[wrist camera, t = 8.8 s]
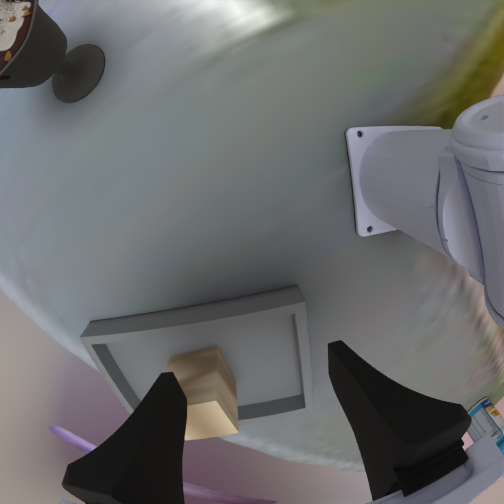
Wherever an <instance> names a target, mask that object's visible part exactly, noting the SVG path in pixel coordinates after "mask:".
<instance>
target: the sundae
mask: <svg viewBox="0 0 504 504" xmlns="http://www.w3.org/2000/svg"><path fill="white" fill-rule="evenodd" d="M38 1H39V0H0V88H26V87H34V86H37V85H40V84H42V83H43V82H45V81H46V80H48V79H49V78H50V77H51V76H52V75H53V74H54V76H53V82H52V84H53V92H54V94H55V96H56V97H57V98H58V99H59V100H61V101H63V102H66V103H67V102H75V101H77V100H79V99H81V98H83V97H85V96H86V95H87V94H88V93H89V92H90V91H92V89H93V88H94V87H95V86H96V85H97V83H98V81H99V80H100V78H101V76H102V73H103V70H104V65H105V58H104V54H103V52H102V50H101V49H100V48H99V47H98V46H96V45H92V44H86V45H81V46H78V47H76V48H75V49H73V50H72V51H70V52H69V53H68V54H66V49H67V38H66V36H65V34H64V33H63V32H62V30H61V29H60V28H59V26H58V25H57V24H56V23H55V22H54V21H53V20H52V19H51V18H50V17H49V16H48V15H47V14H46V13H45V12H44V11H43V10H42V9H41V7H40V6H39V5H38ZM65 54H66V55H65Z"/></svg>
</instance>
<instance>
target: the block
mask: <svg viewBox="0 0 504 504" xmlns="http://www.w3.org/2000/svg"><path fill="white" fill-rule="evenodd" d="M166 372H173V373H174V375H175V377H176V379H177V381H178V382H179V384H180V386H181V388H182V390H183V392H184V394H185V396H186V397H187V423H186V431H185V440H194V439H202V438H210V437H217V436H224V435H230V434H235V433H239V425H238V408H237V389H236V379H235V377H234V375H233V373H232V372H231V370H230V368H229V366H228V364H227V362H226V360H225V358H224V356H223V354H222V352H221V350H220V348H219V346H218V345H217V346H213V347H209V348H205V349H201V350H197V351H192V352H188V353H184V354H179V355H175V356H170V357H169V360H168V364H167V368H166Z"/></svg>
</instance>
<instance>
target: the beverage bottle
mask: <svg viewBox="0 0 504 504" xmlns="http://www.w3.org/2000/svg"><path fill="white" fill-rule="evenodd" d="M468 414H469V415H470V417H471V418H472V422H471V425H470V427H469V428H468V430H467V432H468V434H469V435H470V437H471V439H472V440H473V441H474V443H475V442H476V441H478V440H479V439H481V438H482V437H483V436H484V435H486V434H490V436H491V437H492V439H493V440H494V442H495V443H496V445H497V446H498V448H499V449H500V451H501V452H502V454H503V456H504V418H503V417H502V416H501V414H500V413H499V412H498V410H497V409H496V408H495V407H494V405H493V404H492V403H491V401H490V400H489V399H488V398H484V399H482V400H480V401H479V402H478V403H477V404H475V405H474V406H473V407H472V408H471V409H470V410H469V411H468ZM502 477H503V476H502Z"/></svg>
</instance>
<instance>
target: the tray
mask: <svg viewBox="0 0 504 504" xmlns="http://www.w3.org/2000/svg"><path fill="white" fill-rule="evenodd" d="M80 339H81V341H82V342H83V344H84V346H85V348H86V349H87V351H88V353H89V355H90V356H91V358H92V360H93V361H94V363H95V364H96V366H97V368H98V369H99V371H100V372H101V374H102V376H103V377H104V378H105V380H106V381H107V383H108V385H109V386H110V388H111V389H112V390H113V392H114V393H115V395H116V396H117V398H118V399H119V400H120V402H121V403H122V404H123V406H124V407H125V408H126V410H127V411H128V412H129V414H130V415H131V414H132V413H133V412H134V410H135V409H136V408H137V406H138V405H139V404H140V402H141V401H142V400H143V398H144V397H145V395H146V394H147V392H148V391H149V390H150V388H151V387H152V385H153V384H154V382H155V381H156V379H157V378H158V376H159V375H160V374H161V373H163V372H166V368H167V364H168V360H169V357H170V356H175V355H179V354H184V353H188V352H192V351H197V350H201V349H205V348H209V347H213V346H217V345H218V346H219V348H220V350H221V352H222V354H223V356H224V358H225V360H226V362H227V364H228V366H229V368H230V370H231V372H232V373H233V375H234V377H235V379H236V389H237V408H238V425H241V424H248V423H255V422H261V421H267V420H272V419H278V418H283V417H287V416H292V415H297V414H301V413H305V412H309V411H313V410H314V399H313V383H312V369H311V356H310V344H309V333H308V323H307V313H306V303H305V300H304V298H303V296H302V294H301V292H300V290H299V288H298V286H297V285H296V286H292V287H287V288H283V289H278V290H273V291H268V292H263V293H259V294H254V295H249V296H243V297H238V298H233V299H228V300H223V301H217V302H212V303H206V304H201V305H195V306H189V307H183V308H177V309H171V310H165V311H159V312H153V313H146V314H140V315H133V316H126V317H119V318H112V319H104V320H97V321H91V322H90V323H89V325H88V326H87V328H86V329H85V330H84V332H83V333H82V335H81V336H80Z"/></svg>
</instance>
